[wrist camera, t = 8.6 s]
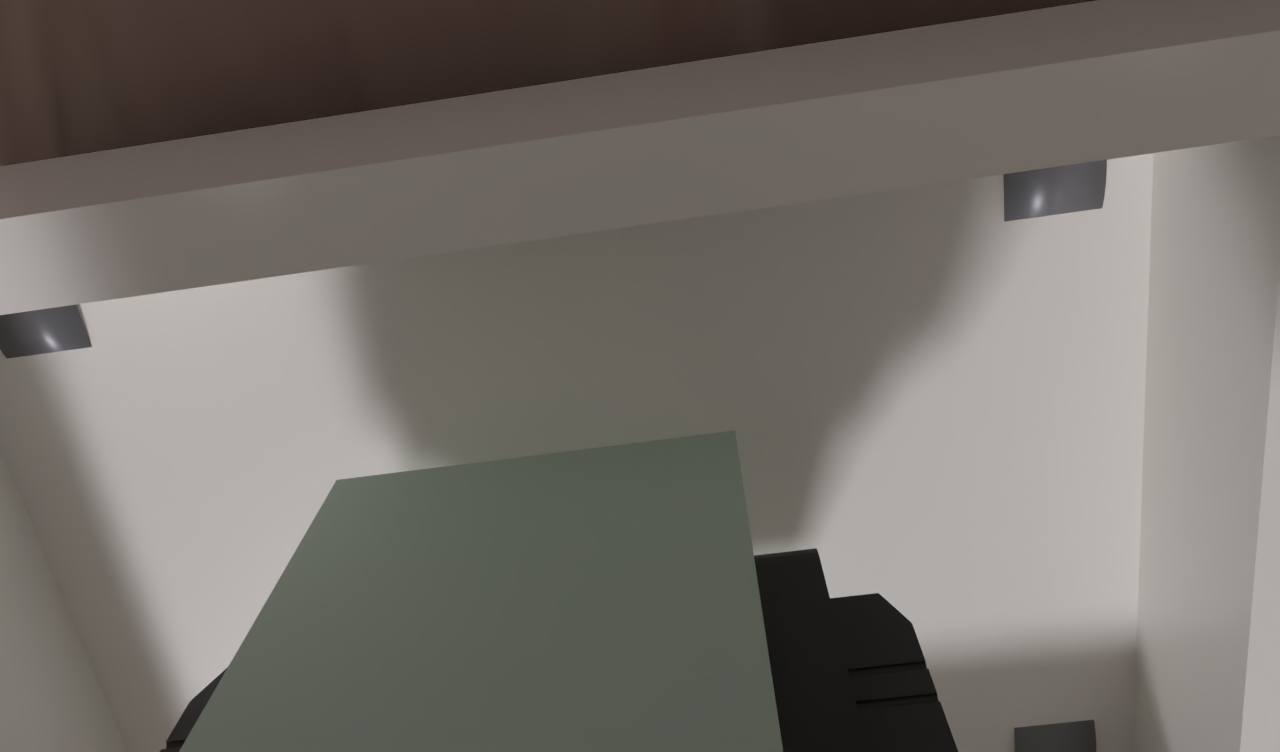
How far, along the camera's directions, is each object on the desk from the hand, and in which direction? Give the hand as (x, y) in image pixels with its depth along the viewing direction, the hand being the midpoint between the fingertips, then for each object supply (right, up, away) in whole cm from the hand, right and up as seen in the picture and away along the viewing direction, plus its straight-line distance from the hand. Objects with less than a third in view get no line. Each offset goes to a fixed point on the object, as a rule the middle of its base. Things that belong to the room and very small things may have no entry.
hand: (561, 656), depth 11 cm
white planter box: (0, +2, +4) cm, 4 cm away
